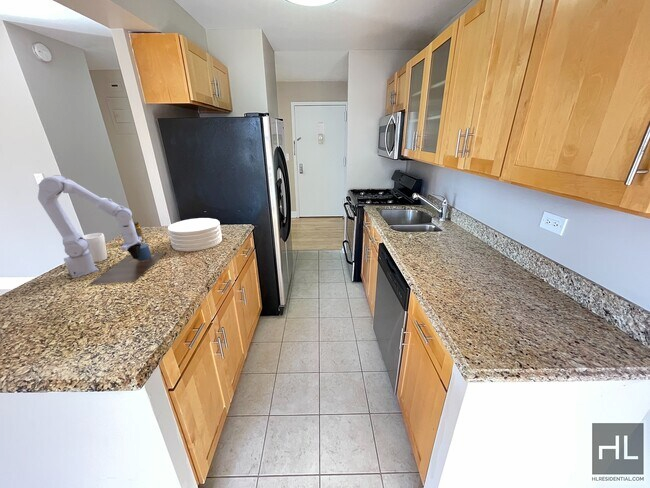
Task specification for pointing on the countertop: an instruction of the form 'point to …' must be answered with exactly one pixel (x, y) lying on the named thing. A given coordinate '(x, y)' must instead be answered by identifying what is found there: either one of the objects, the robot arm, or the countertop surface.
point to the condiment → (139, 231)
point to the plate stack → (195, 234)
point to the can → (144, 252)
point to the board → (127, 270)
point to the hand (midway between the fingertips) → (136, 258)
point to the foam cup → (96, 246)
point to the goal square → (140, 261)
